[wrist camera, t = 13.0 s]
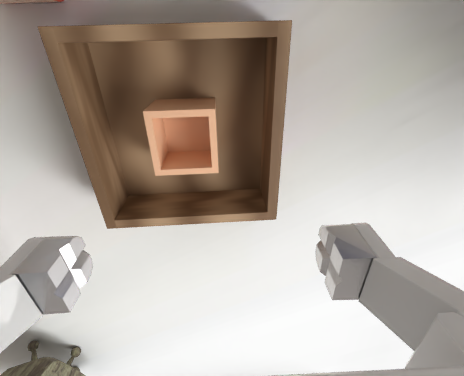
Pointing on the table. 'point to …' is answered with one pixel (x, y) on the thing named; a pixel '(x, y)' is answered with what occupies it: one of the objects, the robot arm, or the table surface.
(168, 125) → the terracotta tub
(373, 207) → the table surface
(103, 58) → the walnut crate
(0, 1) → the cracker box
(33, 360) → the tabletop clock
